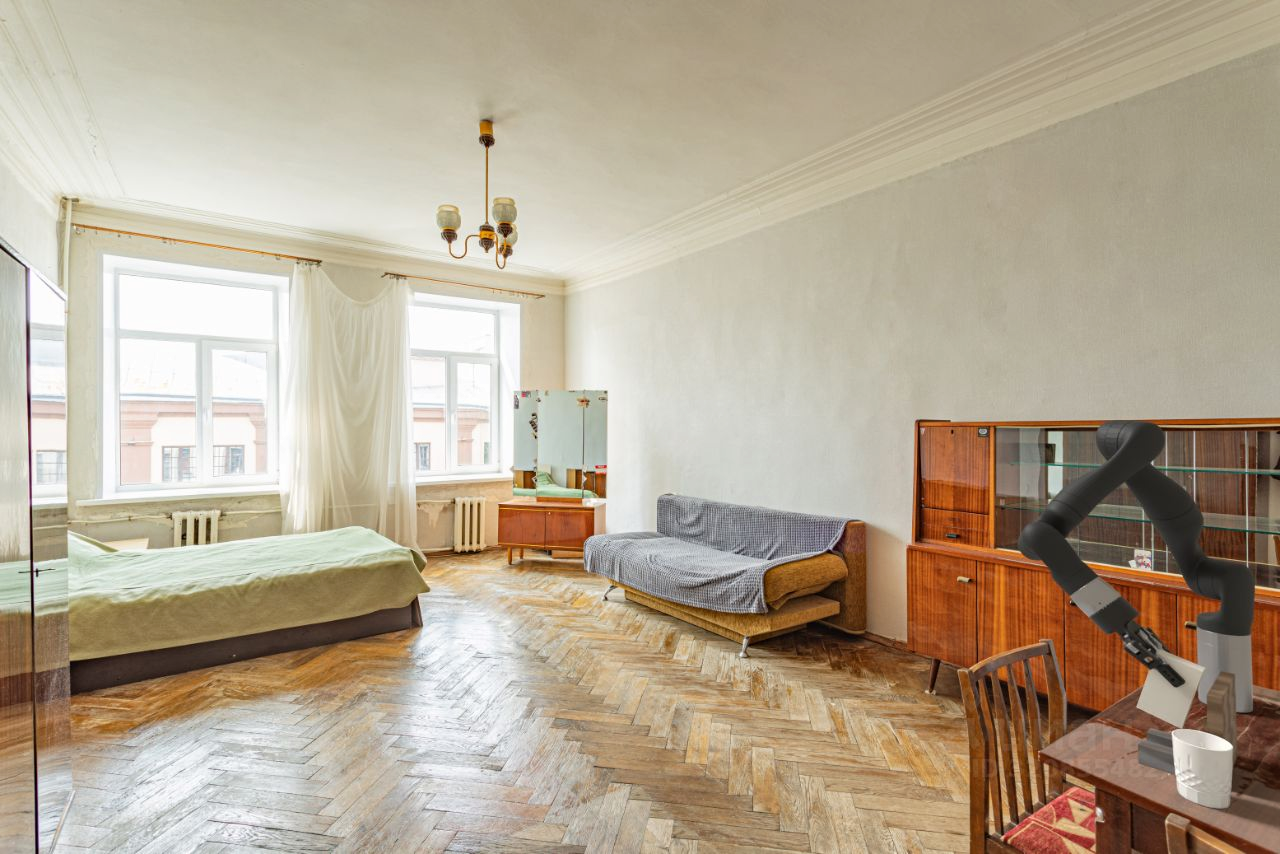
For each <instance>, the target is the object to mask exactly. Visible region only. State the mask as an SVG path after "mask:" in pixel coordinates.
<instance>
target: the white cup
mask: <svg viewBox="0 0 1280 854" xmlns="http://www.w3.org/2000/svg"><path fill="white" fill-rule="evenodd" d="M1171 734H1172V743H1173V756H1174V765H1175V774H1174V775H1175V776H1176V777H1175V779H1176V791H1178V793H1179V795H1180V796H1182V797H1183V798H1185V799H1186V800H1187V801H1190V802H1191V803H1195V804H1197V805H1199V806H1202V807H1207V808H1211V809H1219V810H1220V809H1221V810H1222V809H1227V808H1229V807H1230V805H1231V791H1232V785H1233V784H1232V782H1233V781H1232V780H1233V769H1232V767H1233V768H1234V766H1233V746H1232V745H1231V744H1230V743H1229V742H1228V741H1226V740H1224V739H1222V738H1220V737H1218V736H1215V735H1212V734H1209V733H1208V732H1205V731H1201V730H1196V729H1187V728H1182V729H1181V728H1178V729H1177V728H1176V729H1174V730H1172V731H1171Z"/></svg>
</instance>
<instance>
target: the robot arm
mask: <svg viewBox="0 0 1280 854" xmlns="http://www.w3.org/2000/svg"><path fill="white" fill-rule="evenodd" d="M1164 432H1165V431H1164V430H1163V429H1162V427H1160V425H1158V424H1156V423H1154V422H1150V421H1143V420H1129V419H1127V420H1125V419H1115V420H1114V419H1113V420H1108V421H1104V422H1103V423H1102V424H1100V425H1099V426H1098V427H1097V430H1096V433H1095V442H1096V446H1097V449H1098V451H1099V453H1100V454H1101V456H1103V458H1104V459H1105V460H1106V461H1105V462H1103V463H1102V464H1100V465H1099V466H1097V467H1096V468H1094V469H1092V470H1090V471H1088V472H1086V473H1084V474H1082V475H1081V476H1079V477H1076V478H1075V479H1073V480H1072V481H1070V482H1069V483H1068V484H1066V485H1065V486H1064V487H1063V488H1061V490H1060V491H1058V493H1057V494H1056V495H1055V496H1054V497H1053V498H1052V499H1051V500H1050V501H1049V503H1048V504H1047V505H1046V506H1045V508H1044V509H1043V511H1042V513H1040V515H1039V516H1038V517H1037V518H1036V519H1035V520H1034V521H1033V522H1030V523H1028V524H1027V525H1026V526H1024V527H1023V529H1022V531H1021V533H1020V535H1019V536H1018V538H1017V549H1018V551H1019V552H1020V553H1021V555H1022V556H1024V558H1026V559H1028V560H1031V561H1042V563H1043V564H1044V565H1045V566H1046V567H1047V569H1049V572H1050V575H1051V578H1052V580H1053V581H1054V582H1055V584H1057V585H1058V586H1059V588H1061V590H1063V592H1065V593H1066V594H1067V595H1068V596H1069V597H1070V598H1071V600H1072V601H1073V602H1074V603H1075V605H1076V607H1078V608H1079V609H1080V610H1081V611H1082V612H1083V613H1084V614H1085V615H1086V616H1087V617H1088V619H1090V620H1091V622H1093V623H1094V625H1096V626H1097V627H1098V628H1099V629H1100V630H1101V631H1102V632H1103V633H1104V634H1105V635H1111V634H1113V633H1116V634H1117V635H1118V637H1119V638H1121V640H1122V643H1123V644H1124V645H1122V649H1123V650H1124V651H1125V652H1127V654H1129V655H1130V656H1132V657H1133V658H1134V659H1136V660H1137V661H1138V662H1139V663H1140V664H1142V665H1143V666H1144V667H1146V668H1147V669H1149V670H1152V669H1154V670H1155V671H1157V670H1158V672H1159V673H1160V674H1161V675H1162V676H1163V677H1164V678H1165V679H1166V680H1167V681H1168V682H1169V683H1170V684H1171V685H1172V686H1173V687H1176V688H1177V687H1179V686H1181V685H1183V684H1184V683H1185V680H1184V679H1183V678H1182V677H1181V676H1180V675H1179V674H1178V673H1177V672H1176V671H1175V670H1174V669H1173V668H1172V667H1171V666H1170V665H1169V664H1168V663H1167V662H1166V660H1164V659H1163V658H1162V657H1161V656H1160V655H1159V654H1158V652H1159V650H1158V649H1160V650H1163V651H1166V652H1168V653H1170V654H1172V652H1171V650H1169V648H1168V647H1167V646H1166V645H1165V643H1164V642H1162V640H1161V639H1160V637H1158V635H1157V634H1156V633H1155V631H1154V630H1153V629H1152V628H1150V627H1144V626H1142V625H1140V624H1139V623H1138V622H1137V621H1135V619H1136V618H1138V617H1139V616H1140V612H1139V611H1138V610H1137V609H1136V608H1135V607H1134V606H1133V605H1132V603H1130V602H1129V601H1128V600H1127V599H1125V597H1124V596H1123V595H1121V594H1120V592H1118V591H1117V590H1116V589H1115V588H1114V587H1113V586H1112V585H1111V584H1109V582H1107V581H1105V580H1104V579H1103V578H1102V577H1100V575H1098V574H1097V573H1096V572H1095V571H1094V570H1093V569H1092V568H1091V567H1090V566H1089V565H1088V564H1087V563H1086V562H1085V561H1083V560H1082V558H1081V557H1080V556H1079V555H1078V554H1077V551H1076V550H1075V549H1074V548H1073V547H1072V545H1071V544H1070V543H1069V542H1068V540H1067V539H1066V538H1067V537H1068V536H1069V534H1070V533H1071V532H1072V531H1073V530H1075V529H1076V527H1078V526H1079V525H1081V523H1082V522H1083V521H1085V519H1086V518H1087V517H1088V516H1089V515H1090V514H1091V513H1092V511H1094V509H1095V508H1096V507H1097V506H1098V505H1099V504H1101V502H1102V501H1104V500H1105V498H1106V497H1108V496H1109V495H1110V494H1111V493H1113V492H1114V491H1115V490H1116V489H1117V488H1119V487H1120V486H1121V485H1123V484H1124V483H1125V485H1126V486H1127V487H1128V489H1129V490H1130V492H1131V494H1132V495H1133V496H1134V498H1135V499H1136V501H1137V502H1138V503H1139V505H1140V506H1141V508H1142V510H1143V512H1144V514H1145V515H1146V516H1147V519H1149V521H1150V523H1151V524H1152V526H1153V527H1154V528H1155V530H1156V531H1157V533H1158V534H1159V536H1160V537H1161V538H1162V540H1163V542H1164V544H1165V546H1166V547H1167V548H1168V550H1169V552H1170V554H1171V555H1172V557H1173V560H1174V562H1175V563H1176V566H1177V568H1178V569H1179V572H1180V575H1181V576H1182V578H1183V580H1184V582H1185V583H1186V585H1187V587H1188V589H1190V590H1191V591H1192V592H1193V593H1194V594H1196V595H1198V596H1201V597H1203V598H1208V599H1210V600H1211V599H1212V600H1215V601H1216V600H1217V601H1220V607H1219V610H1216V611H1210V612H1209V611H1208V612H1200V613H1198V614H1197V615H1196V645H1197V646H1196V647H1197V648H1196V649H1197V650H1196V651H1197V652H1196V653H1197V665H1200V666H1202V667H1205V670H1204V673H1203V676H1202V678H1201V681H1200V684H1199V687H1198V689H1197V693H1198V700H1199V701H1200V702H1201V703H1203V704H1204V705H1207V693H1208V692H1209V690H1210V688H1211V687H1212V685H1213V684H1214V682H1215V680H1216V679H1217V677H1218V675H1219V674H1220V672H1221V671H1223V672H1227V673H1232V674H1235V689H1236V713H1251V712H1253V711H1254V701H1253V700H1254V697H1253V695H1254V694H1253V690H1254V689H1253V664H1252V663H1253V661H1252V660H1253V659H1252V657H1253V656H1252V625H1253V622H1254V619H1255V618H1254V616H1255V597H1256V596H1255V595H1256V593H1255V592H1256V583H1255V578H1254V574H1253V571H1252V570H1251V568H1249V567H1248V566H1247V565H1245V564H1242V563H1238V562H1232V561H1225V560H1219V559H1213V558H1210V557H1209V556H1208V555H1206V553H1205V552H1204V551H1203V550H1202V548H1201V546H1200V544H1199V539H1200V537H1201V535H1202V533H1203V528H1204V524H1205V521H1204V520H1205V519H1204V516H1203V513H1202V512H1201V509H1200V508H1199V506H1198V505H1197V503H1196V502H1195V500H1194V499H1193V497H1192V496H1191V494H1190V493H1189V492H1188V491H1187V490H1186V489H1185V488H1184V487H1183V486H1182V485H1180V484H1179V483H1178V482H1176V481H1175V480H1173V479H1172V478H1171V477H1169V476H1168V475H1166V474H1165V473H1163V472H1162V471H1160V470H1159V469H1158V468H1157V467H1155V466H1154V465H1153V464H1152V462H1153V461H1154V460H1155V459H1156V458H1157V457H1158V456H1160V454H1161V453H1162V451H1163V449H1164V448H1165V443H1166V436H1165V433H1164ZM1167 664H1168V665H1167Z"/></svg>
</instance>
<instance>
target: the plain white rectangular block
mask: <svg viewBox="0 0 1280 854" xmlns="http://www.w3.org/2000/svg"><path fill="white" fill-rule="evenodd" d="M1158 650H1159V652H1158V654H1159V655H1160V656H1161V657H1162V658H1163V659H1164V660H1166V662H1167V663H1168V664H1169V665H1170V666H1171V667H1172V668H1173V669H1174V670H1175V671H1176V672H1177V673H1178V674H1179V675H1180V676H1181V677H1182V678H1183V679H1184V680H1185V683H1184V684H1183V685H1181V686H1179V687H1177V688H1176V687H1173V686H1172V685H1171V684H1170V683H1169V682H1168V681H1167V680H1166V679H1165V678H1164V677H1163V676H1162V675H1161V674H1160V673H1159V672H1158V670H1157V671H1155V670H1154V669H1152V670H1150V669H1149V670H1148V672H1147V676H1146V679H1145V681H1144V684H1143V687H1142V689H1141V693H1140V695H1139V698H1138V701H1137V704H1136V709H1139V710H1142V711H1143V712H1145V713H1147V714H1150V715H1151V716H1154V717H1155V718H1158V719H1159V720H1162V721H1164V722H1166V723H1169V724H1170V725H1172V726H1175V727H1177V728H1178V729H1183V727H1184V726H1185V725H1186V721H1187V718H1188V715H1189V713H1190V711H1191V709H1192V708H1191V707H1192V705H1193V702H1194V700H1195V697H1196V694H1197V693H1198V687H1199V684H1200V681H1201V678H1202V676H1203V673H1204V670H1205V667H1202V666H1200V665H1198V663H1196V662H1195V663H1194V662H1192V661H1190V660H1187V659H1185V658H1182V657H1181V656H1178V655H1175V654H1173V653H1171V654H1170V653H1168V652H1166V651H1163V650H1160V649H1158ZM1168 664H1167V665H1168Z"/></svg>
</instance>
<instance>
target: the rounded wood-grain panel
mask: <svg viewBox="0 0 1280 854" xmlns="http://www.w3.org/2000/svg"><path fill="white" fill-rule="evenodd" d="M1202 720H1203V721H1202V723H1203V726H1202V727H1203V730H1204V731H1207V733H1209V734H1212V735H1215V736H1218V737H1220V738H1222V739H1224V740H1226V741H1228V742H1229V743H1230V744H1231V745H1232V746H1233V767H1232V770H1233V769H1234V766H1235V764H1236V762H1237V758H1238V733H1237V728H1238V727H1237V712H1236V689H1235V674H1232V673H1227V672H1223V671H1221V672H1220V674H1219V675H1218V677H1217V679H1216V680H1215V682H1214V684H1213V685H1212V687H1211V688H1210V690H1209V692H1208V693H1207V704H1206V717H1203V718H1202ZM1137 754H1138V756H1137V757H1138V760H1137V761H1138V764H1140V765H1144V766H1148V767H1151V768H1154V769H1156V770H1161V771H1164V772H1167V773H1169V774H1173V775H1176V774H1175V765H1174V756H1173V743H1172V733H1170V732H1166V731H1163V730H1160V729H1159V730H1158V729H1155V728H1152V727H1149V729H1148V730H1147V731H1146V739H1140V741H1139V742H1138V743H1137Z"/></svg>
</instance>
